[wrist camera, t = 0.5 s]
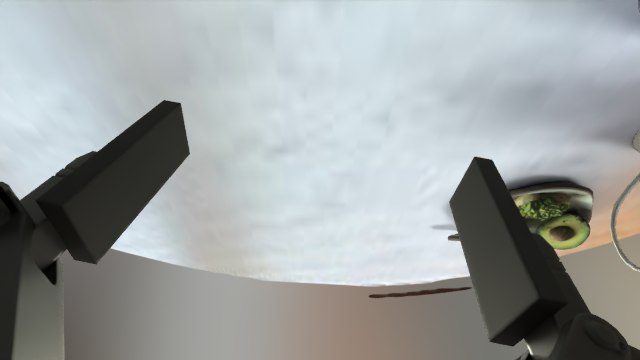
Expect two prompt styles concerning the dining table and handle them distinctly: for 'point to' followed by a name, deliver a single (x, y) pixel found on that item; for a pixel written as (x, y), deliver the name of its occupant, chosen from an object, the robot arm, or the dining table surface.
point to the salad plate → (555, 212)
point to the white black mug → (639, 145)
